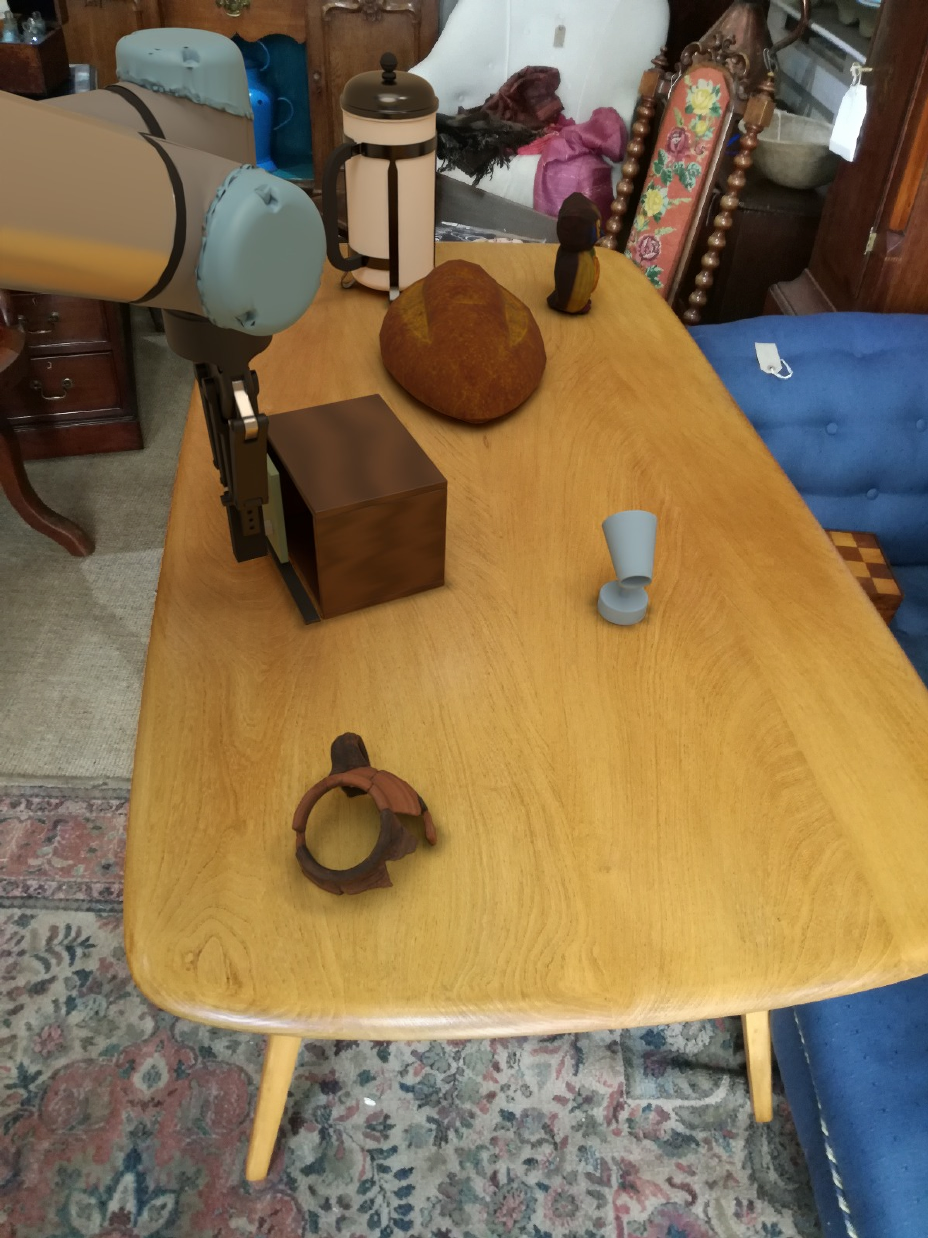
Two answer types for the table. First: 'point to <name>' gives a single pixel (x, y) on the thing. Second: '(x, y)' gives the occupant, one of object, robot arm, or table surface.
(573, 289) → the figurine
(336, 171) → the coffee press
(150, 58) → the robot arm
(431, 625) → the table surface
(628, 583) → the spotlight
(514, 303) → the bread
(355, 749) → the broken clay pot
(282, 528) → the sliding door
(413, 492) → the cupboard
